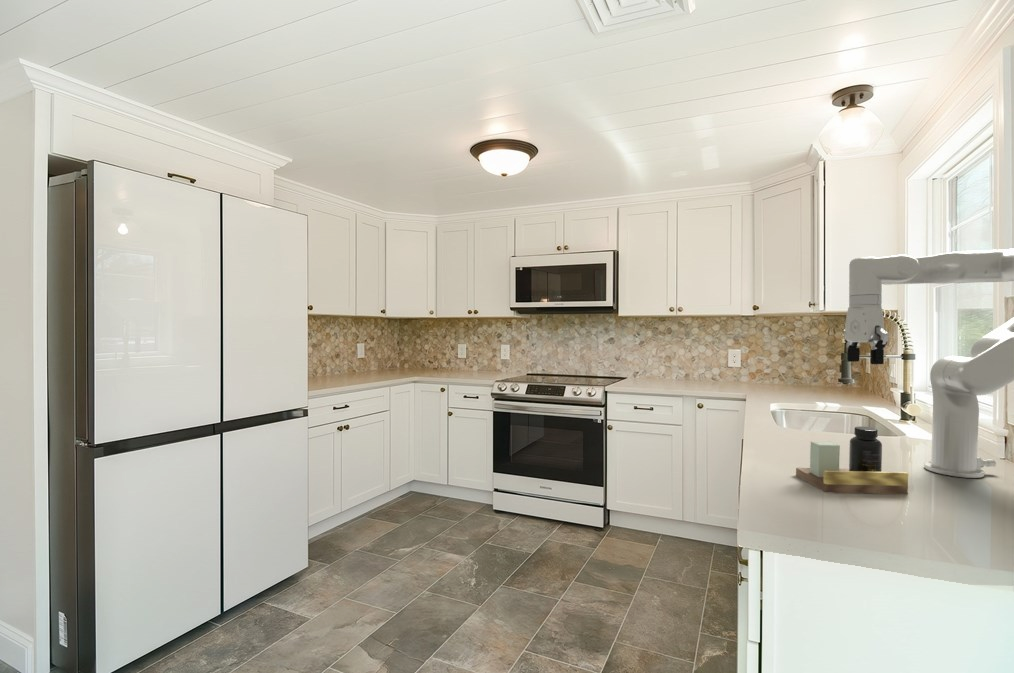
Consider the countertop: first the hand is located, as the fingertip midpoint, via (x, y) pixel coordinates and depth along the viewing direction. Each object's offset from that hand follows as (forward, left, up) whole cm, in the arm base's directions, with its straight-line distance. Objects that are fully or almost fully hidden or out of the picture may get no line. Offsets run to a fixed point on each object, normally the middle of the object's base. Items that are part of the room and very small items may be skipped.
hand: (864, 362), depth 147 cm
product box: (+19, +16, -27) cm, 37 cm away
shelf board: (+14, +17, -29) cm, 37 cm away
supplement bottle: (+9, +16, -28) cm, 33 cm away
